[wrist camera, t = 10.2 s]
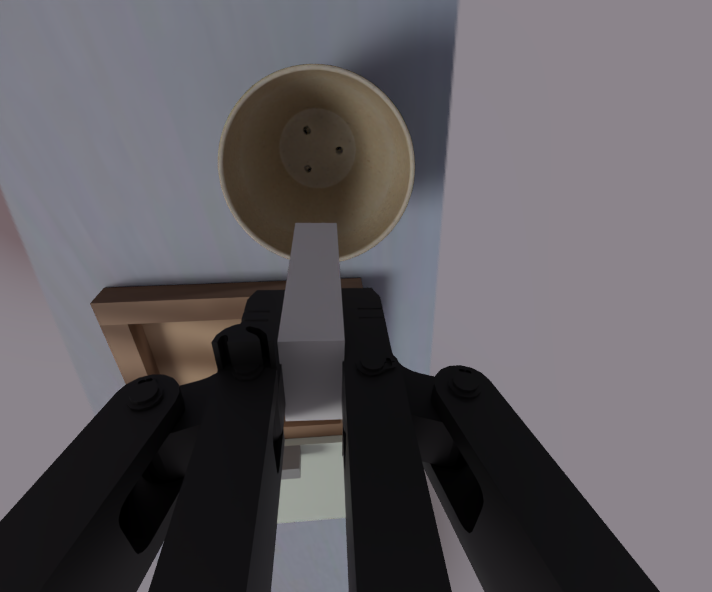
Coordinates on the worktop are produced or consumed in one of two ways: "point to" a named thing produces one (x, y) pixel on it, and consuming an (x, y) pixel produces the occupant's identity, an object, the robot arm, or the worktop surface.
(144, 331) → the wooden box
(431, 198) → the worktop surface
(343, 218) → the flower pot
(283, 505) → the lid
